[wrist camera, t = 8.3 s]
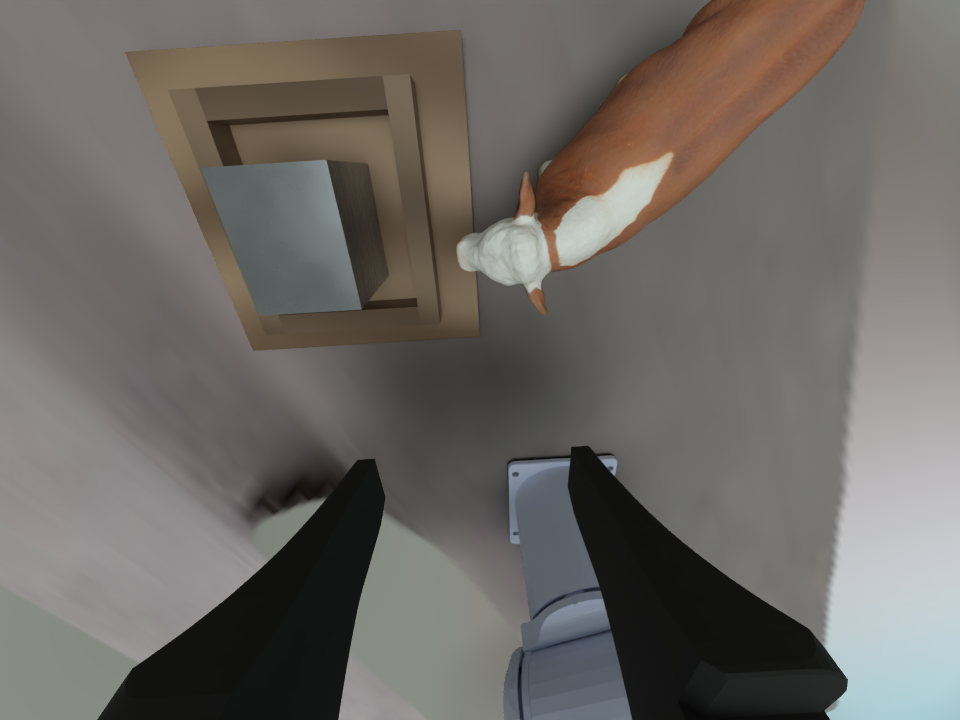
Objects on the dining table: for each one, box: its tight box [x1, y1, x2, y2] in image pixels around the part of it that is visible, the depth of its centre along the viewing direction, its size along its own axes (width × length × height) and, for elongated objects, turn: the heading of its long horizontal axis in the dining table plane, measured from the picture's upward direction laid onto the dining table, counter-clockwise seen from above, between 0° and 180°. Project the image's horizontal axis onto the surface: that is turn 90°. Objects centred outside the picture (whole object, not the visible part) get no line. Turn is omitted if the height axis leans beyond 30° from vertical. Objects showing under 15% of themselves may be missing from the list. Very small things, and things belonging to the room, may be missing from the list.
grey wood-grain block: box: [201, 160, 389, 316], centre depth 14 cm, size 5×4×5 cm
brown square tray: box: [125, 30, 480, 351], centre depth 16 cm, size 13×13×2 cm
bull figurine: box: [456, 0, 865, 315], centre depth 12 cm, size 4×13×8 cm, turn 128°
